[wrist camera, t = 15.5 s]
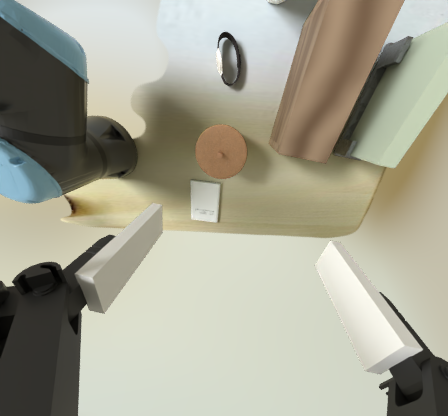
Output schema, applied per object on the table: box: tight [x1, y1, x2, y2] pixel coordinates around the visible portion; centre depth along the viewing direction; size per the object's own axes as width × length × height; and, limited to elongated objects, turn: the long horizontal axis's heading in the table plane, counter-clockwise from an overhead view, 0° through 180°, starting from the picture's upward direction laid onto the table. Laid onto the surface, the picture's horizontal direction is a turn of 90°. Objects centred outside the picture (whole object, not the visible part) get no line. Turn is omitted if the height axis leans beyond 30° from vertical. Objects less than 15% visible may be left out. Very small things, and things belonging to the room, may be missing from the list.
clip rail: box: [333, 36, 413, 160], centre depth 31 cm, size 6×19×5 cm, turn 170°
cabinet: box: [269, 0, 405, 163], centre depth 28 cm, size 8×20×13 cm, turn 170°
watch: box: [216, 32, 241, 86], centre depth 31 cm, size 8×5×4 cm, turn 10°
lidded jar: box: [195, 124, 247, 179], centre depth 36 cm, size 11×11×9 cm
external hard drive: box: [190, 180, 221, 222], centre depth 48 cm, size 2×8×12 cm
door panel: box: [350, 22, 448, 168], centre depth 28 cm, size 18×4×11 cm, turn 170°
